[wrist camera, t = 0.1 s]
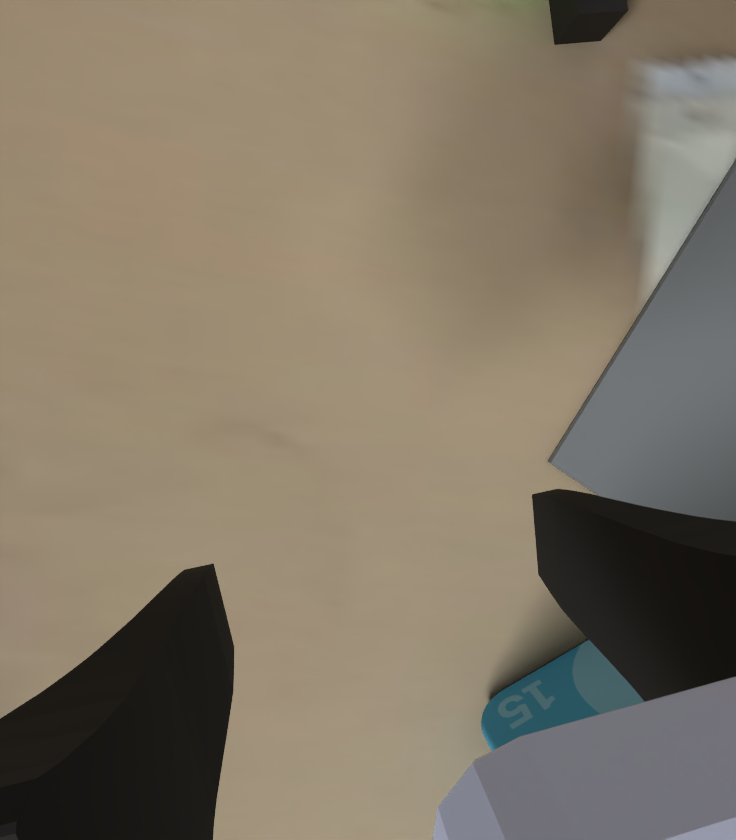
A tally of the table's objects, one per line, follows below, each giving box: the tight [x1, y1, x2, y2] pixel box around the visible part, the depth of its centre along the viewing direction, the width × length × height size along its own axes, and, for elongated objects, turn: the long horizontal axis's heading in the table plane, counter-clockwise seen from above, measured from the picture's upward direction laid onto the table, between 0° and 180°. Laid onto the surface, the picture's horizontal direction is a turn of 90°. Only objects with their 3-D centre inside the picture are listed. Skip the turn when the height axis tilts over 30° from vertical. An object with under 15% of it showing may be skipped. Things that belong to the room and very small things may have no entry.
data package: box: [481, 640, 645, 751], centre depth 19 cm, size 12×4×12 cm, turn 116°
